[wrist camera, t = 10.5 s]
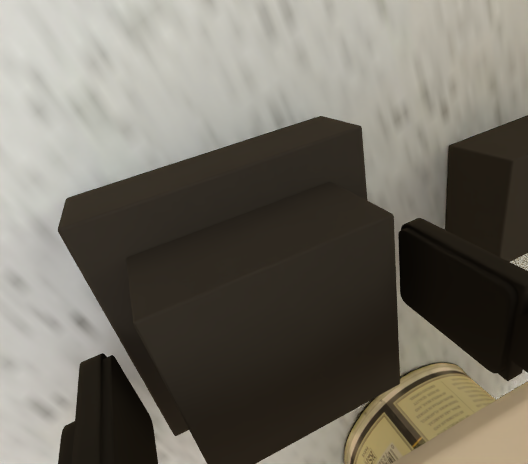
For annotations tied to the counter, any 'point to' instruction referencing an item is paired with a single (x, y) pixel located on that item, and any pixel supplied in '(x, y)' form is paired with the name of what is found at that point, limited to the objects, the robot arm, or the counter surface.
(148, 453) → the robot arm
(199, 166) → the large pad
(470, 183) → the small pad
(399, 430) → the coffee can
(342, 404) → the medium pad
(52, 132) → the counter surface
